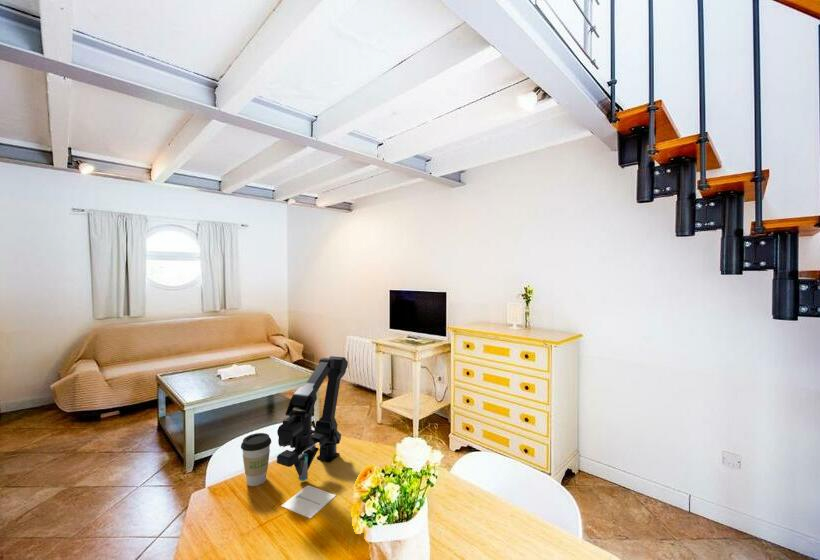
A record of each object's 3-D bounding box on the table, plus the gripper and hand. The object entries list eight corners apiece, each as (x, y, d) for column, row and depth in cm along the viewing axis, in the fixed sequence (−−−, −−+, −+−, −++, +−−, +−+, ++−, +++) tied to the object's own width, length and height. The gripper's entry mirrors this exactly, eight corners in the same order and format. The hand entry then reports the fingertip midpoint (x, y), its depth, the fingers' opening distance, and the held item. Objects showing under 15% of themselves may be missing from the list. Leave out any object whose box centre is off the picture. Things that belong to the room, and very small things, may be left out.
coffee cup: (264, 489, 120) (264, 445, 119) (235, 489, 120) (235, 445, 120) (276, 472, 130) (275, 432, 129) (249, 472, 130) (249, 431, 129)
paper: (307, 485, 122) (307, 485, 122) (335, 495, 117) (335, 495, 117) (280, 506, 111) (280, 505, 111) (310, 518, 106) (310, 517, 106)
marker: (303, 475, 126) (302, 452, 126) (309, 477, 125) (309, 454, 125) (296, 479, 124) (296, 456, 123) (303, 482, 122) (303, 459, 122)
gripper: (304, 414, 136) (304, 454, 136) (264, 434, 119) (265, 480, 119) (327, 420, 131) (327, 462, 131) (289, 442, 114) (289, 489, 114)
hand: (303, 472), depth 124 cm, fingers closed on marker, 3 cm apart
